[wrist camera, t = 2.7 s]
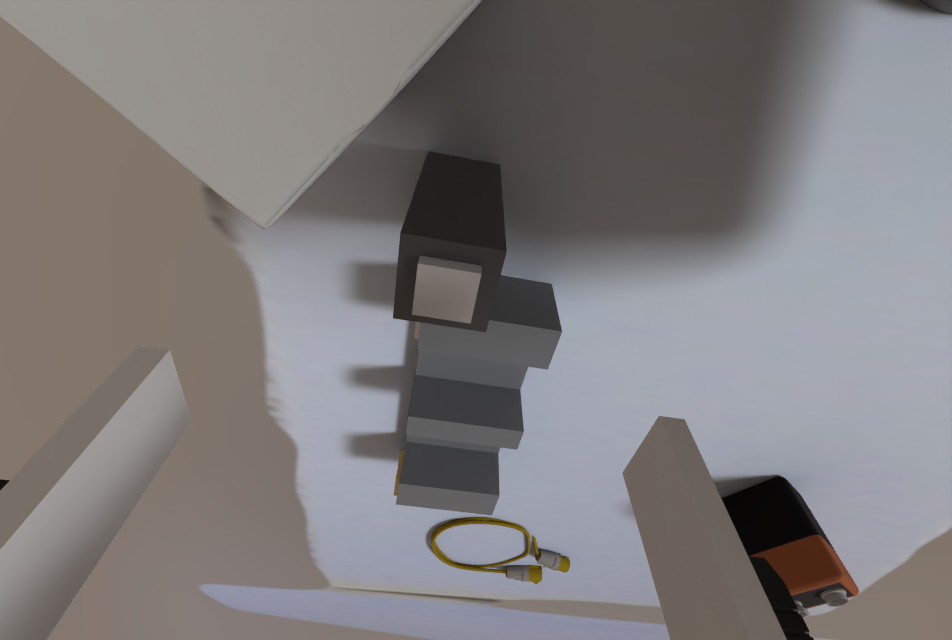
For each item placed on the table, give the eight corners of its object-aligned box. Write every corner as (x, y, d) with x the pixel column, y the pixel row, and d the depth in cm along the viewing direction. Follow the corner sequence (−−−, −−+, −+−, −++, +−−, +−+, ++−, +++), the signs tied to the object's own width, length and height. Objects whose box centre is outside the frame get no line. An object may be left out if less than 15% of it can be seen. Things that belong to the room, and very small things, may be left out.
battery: (712, 500, 44) (762, 613, 36) (781, 473, 42) (852, 589, 34) (732, 517, 46) (783, 629, 38) (800, 492, 43) (870, 607, 35)
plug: (428, 151, 24) (397, 240, 16) (499, 164, 25) (507, 259, 16) (420, 218, 27) (390, 327, 18) (486, 229, 27) (486, 341, 19)
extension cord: (490, 583, 58) (490, 600, 56) (410, 531, 50) (407, 549, 48) (574, 558, 53) (577, 575, 52) (500, 496, 46) (500, 515, 44)
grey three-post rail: (426, 263, 29) (416, 308, 25) (551, 284, 29) (562, 331, 25) (401, 452, 41) (392, 503, 37) (491, 463, 41) (491, 515, 37)
